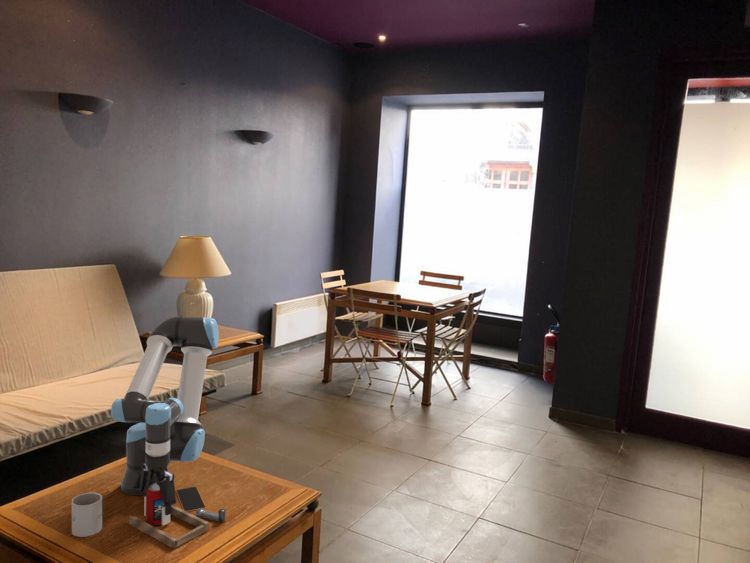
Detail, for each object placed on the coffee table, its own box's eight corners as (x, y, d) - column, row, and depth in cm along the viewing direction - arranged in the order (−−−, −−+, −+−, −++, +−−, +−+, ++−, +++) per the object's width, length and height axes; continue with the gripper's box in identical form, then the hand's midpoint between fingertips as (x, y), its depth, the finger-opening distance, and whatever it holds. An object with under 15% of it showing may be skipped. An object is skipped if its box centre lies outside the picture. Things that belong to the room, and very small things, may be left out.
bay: (129, 524, 188) (129, 517, 188) (164, 508, 199) (164, 501, 199) (173, 548, 176) (174, 540, 176) (208, 529, 187) (208, 522, 187)
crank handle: (194, 516, 195) (194, 506, 195) (199, 512, 198) (199, 502, 197) (222, 523, 192) (222, 512, 191) (227, 519, 194) (227, 509, 194)
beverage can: (160, 528, 187) (161, 492, 186) (141, 524, 188) (141, 489, 187) (172, 517, 194) (172, 483, 192) (153, 514, 195) (153, 480, 194)
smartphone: (184, 513, 197) (184, 511, 197) (175, 492, 212) (175, 489, 211) (206, 509, 201) (206, 507, 200) (196, 488, 215) (196, 486, 215)
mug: (97, 536, 181) (97, 505, 180) (67, 537, 179) (67, 506, 178) (108, 515, 193) (108, 486, 192) (80, 516, 191) (80, 487, 190)
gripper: (127, 447, 191) (127, 512, 193) (169, 465, 179) (168, 534, 182) (147, 440, 197) (146, 504, 200) (189, 457, 186) (187, 524, 188)
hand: (157, 518), depth 191 cm, fingers open, 8 cm apart
